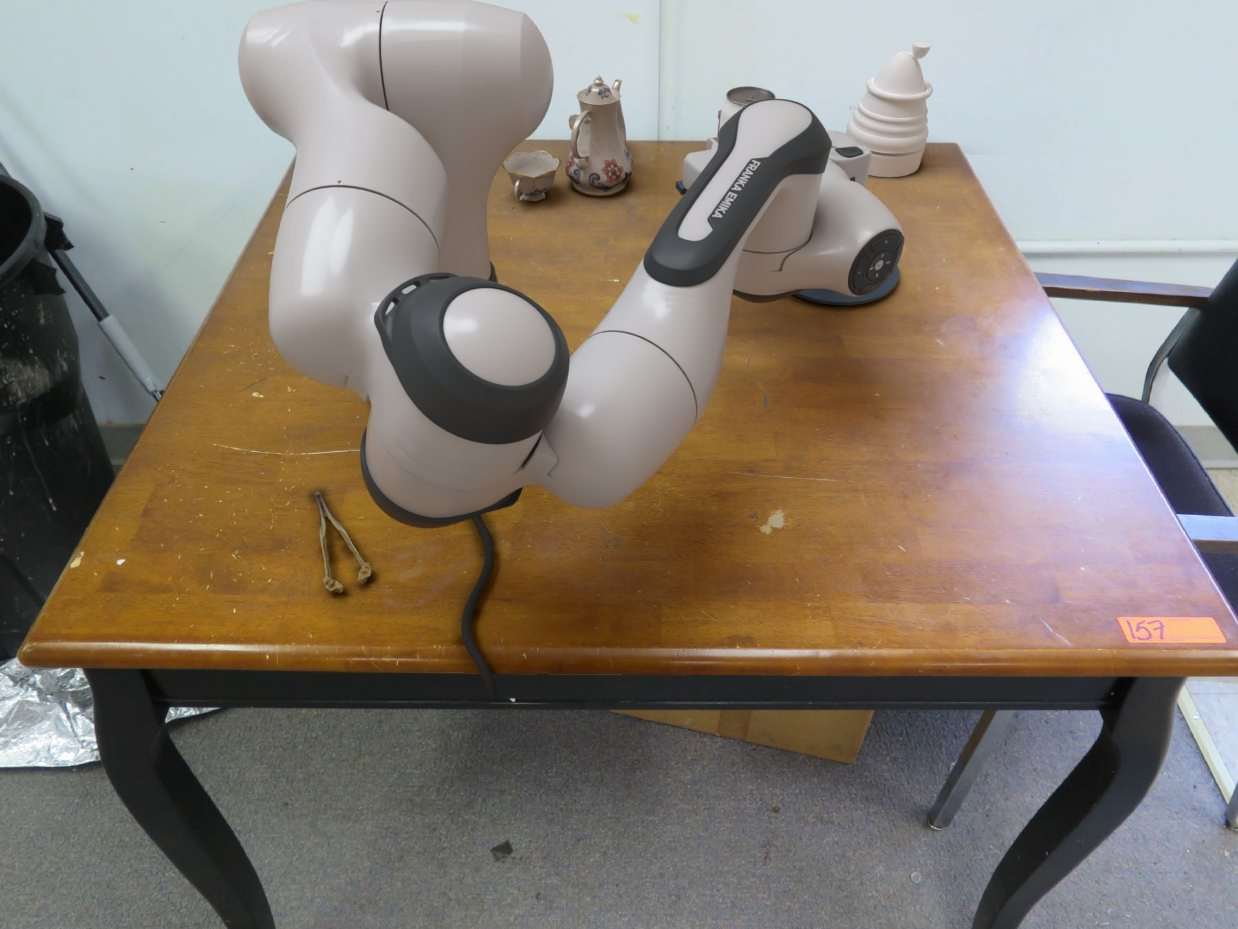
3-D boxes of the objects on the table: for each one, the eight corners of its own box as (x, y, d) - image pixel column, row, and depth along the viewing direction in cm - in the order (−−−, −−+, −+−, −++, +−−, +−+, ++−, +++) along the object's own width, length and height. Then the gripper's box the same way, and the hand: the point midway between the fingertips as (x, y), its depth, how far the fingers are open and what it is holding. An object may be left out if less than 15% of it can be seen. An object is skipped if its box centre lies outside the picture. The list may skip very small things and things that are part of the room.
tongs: (329, 490, 78) (324, 477, 77) (378, 583, 71) (373, 571, 70) (287, 507, 77) (281, 494, 75) (333, 604, 70) (327, 592, 68)
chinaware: (582, 144, 137) (569, 40, 126) (669, 153, 131) (664, 45, 119) (496, 216, 120) (472, 103, 108) (592, 231, 113) (578, 112, 102)
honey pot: (929, 154, 132) (964, 37, 119) (905, 184, 124) (939, 63, 111) (856, 136, 136) (881, 22, 123) (828, 164, 129) (852, 46, 116)
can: (764, 183, 100) (778, 86, 92) (765, 208, 96) (780, 107, 87) (713, 181, 101) (723, 83, 92) (712, 205, 96) (721, 105, 88)
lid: (922, 296, 103) (933, 265, 99) (798, 319, 99) (805, 287, 96) (856, 229, 114) (863, 200, 111) (743, 247, 111) (747, 217, 107)
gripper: (708, 233, 85) (660, 177, 94) (871, 203, 90) (811, 152, 99) (713, 177, 80) (662, 124, 89) (885, 148, 85) (820, 101, 94)
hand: (742, 138), depth 94 cm, fingers closed on can, 6 cm apart
